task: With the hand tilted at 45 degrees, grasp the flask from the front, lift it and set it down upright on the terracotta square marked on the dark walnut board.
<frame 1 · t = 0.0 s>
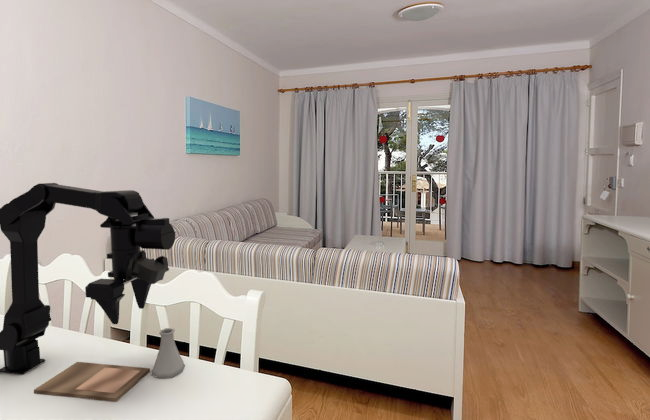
hand: (129, 315, 87), 15 cm above the table, tool pointing down, fingers open, 9 cm apart
flask: (168, 371, 92), on the table
walnut board: (95, 381, 87), on the table
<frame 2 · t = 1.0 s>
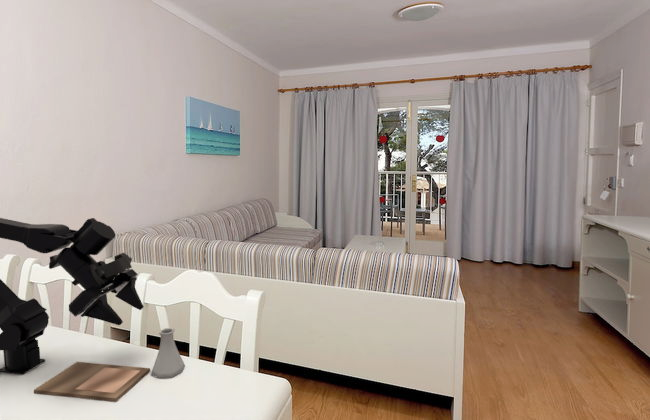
hand: (132, 315, 90), 13 cm above the table, tool tilted 45°, fingers open, 9 cm apart
nothing on the table moved.
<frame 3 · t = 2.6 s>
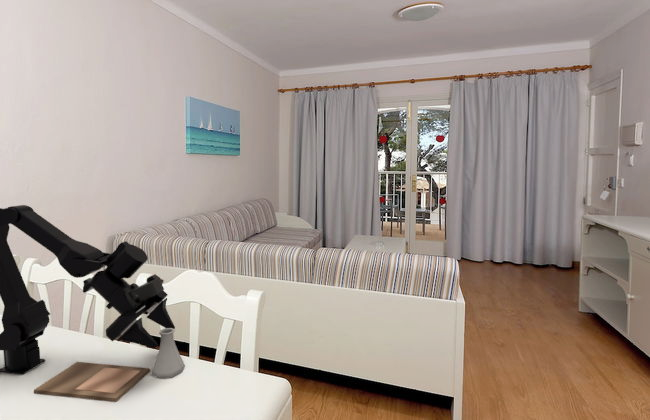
hand: (165, 337, 91), 8 cm above the table, tool tilted 45°, fingers open, 9 cm apart
nothing on the table moved.
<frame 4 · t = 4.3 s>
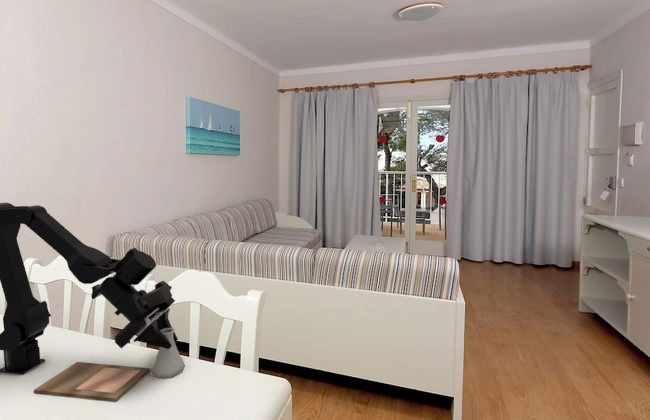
hand: (173, 344, 91), 7 cm above the table, tool tilted 45°, fingers closed on flask, 3 cm apart
flask: (168, 371, 92), on the table, touching gripper
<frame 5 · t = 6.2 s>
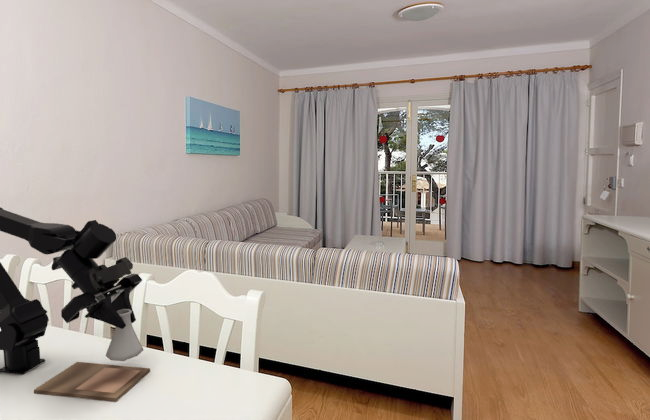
hand: (129, 324, 86), 13 cm above the table, tool tilted 45°, fingers closed on flask, 3 cm apart
flask: (125, 354, 87), point 6 cm above the table, touching gripper
when the fingers open (8 cm above the table, at t = 8.3 s): flask stays where it is, resting on walnut board.
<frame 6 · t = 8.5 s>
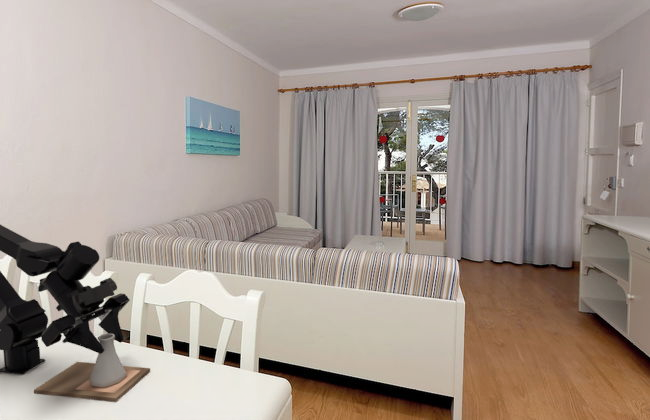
hand: (112, 346, 85), 9 cm above the table, tool tilted 45°, fingers open, 5 cm apart
flask: (108, 380, 86), point 1 cm above the table, touching walnut board
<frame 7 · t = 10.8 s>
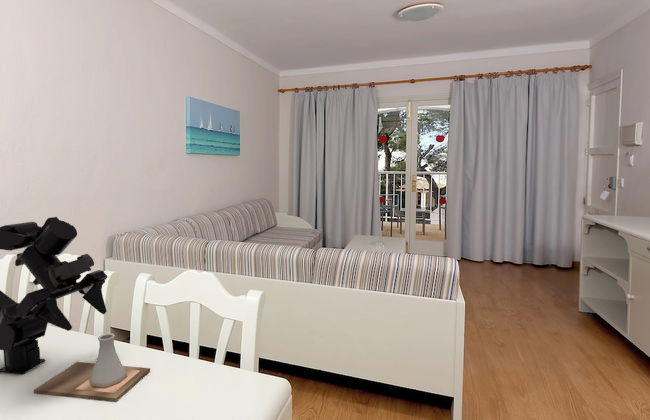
hand: (88, 320, 86), 14 cm above the table, tool tilted 45°, fingers open, 9 cm apart
nothing on the table moved.
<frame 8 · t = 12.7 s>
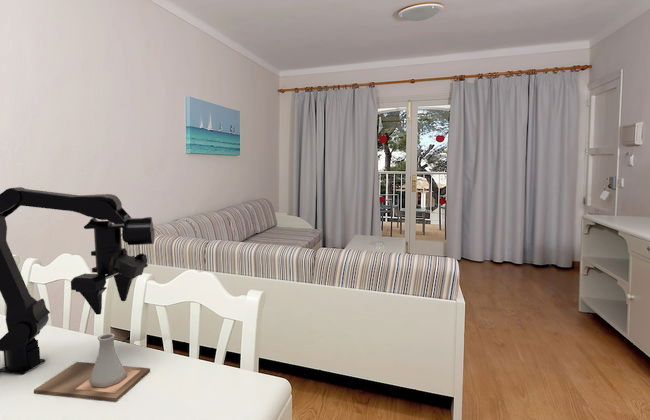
hand: (111, 307, 96), 13 cm above the table, tool pointing down, fingers open, 9 cm apart
nothing on the table moved.
at the end: flask inside the target area (0.2 cm from its centre), point 0.7 cm above the table; flask tilted 0°; the gripper is holding nothing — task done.
